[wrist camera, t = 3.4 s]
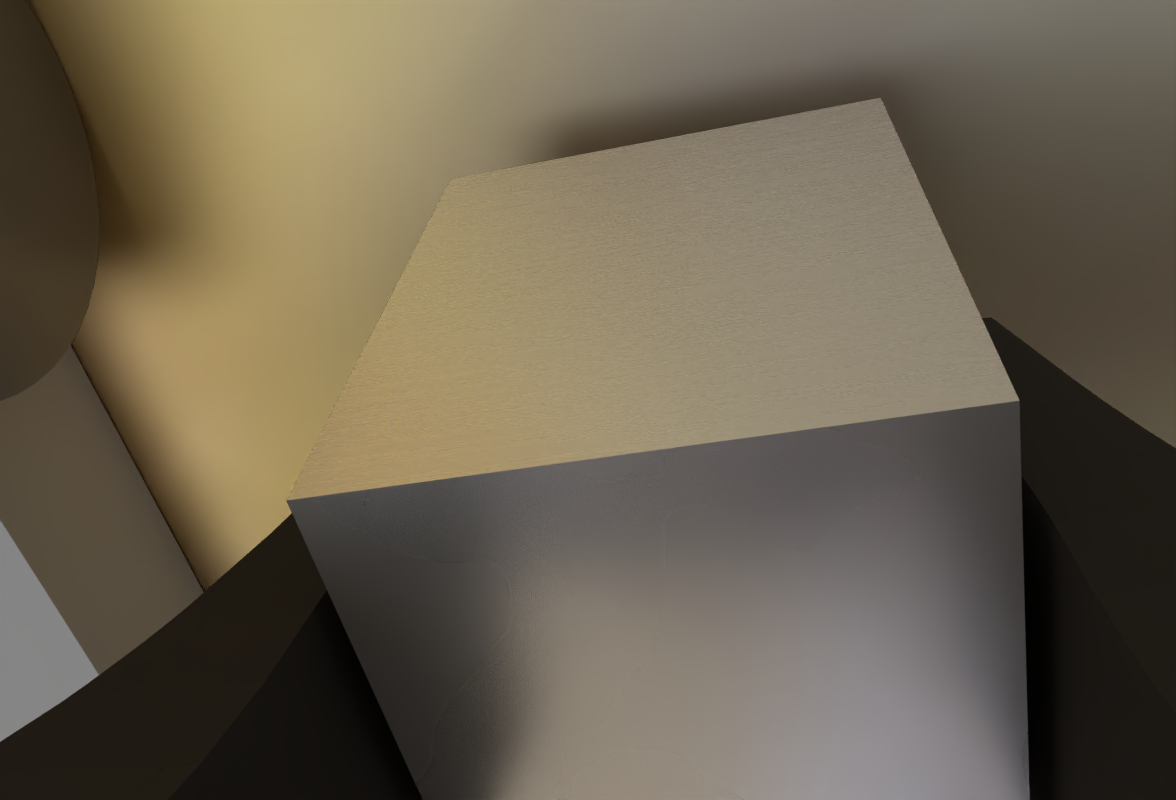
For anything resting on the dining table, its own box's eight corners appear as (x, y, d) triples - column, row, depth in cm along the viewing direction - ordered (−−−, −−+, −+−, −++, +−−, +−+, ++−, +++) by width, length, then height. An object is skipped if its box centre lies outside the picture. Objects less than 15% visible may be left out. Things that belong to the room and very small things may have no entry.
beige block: (918, 533, 12) (1034, 969, 8) (571, 575, 13) (509, 992, 9) (880, 97, 10) (1020, 400, 6) (451, 179, 11) (286, 499, 6)
